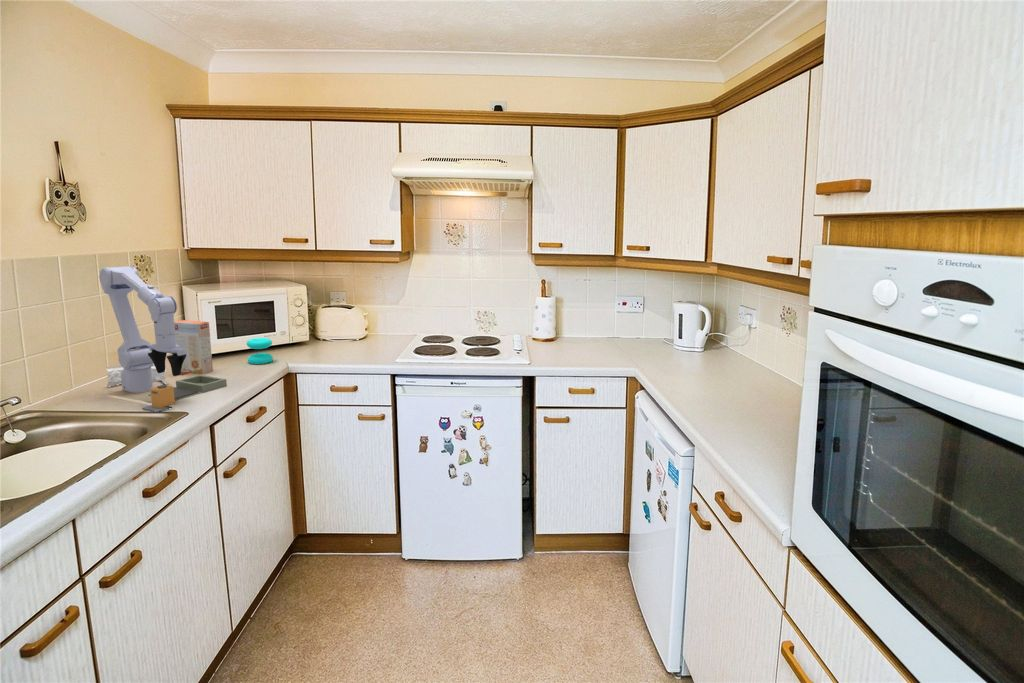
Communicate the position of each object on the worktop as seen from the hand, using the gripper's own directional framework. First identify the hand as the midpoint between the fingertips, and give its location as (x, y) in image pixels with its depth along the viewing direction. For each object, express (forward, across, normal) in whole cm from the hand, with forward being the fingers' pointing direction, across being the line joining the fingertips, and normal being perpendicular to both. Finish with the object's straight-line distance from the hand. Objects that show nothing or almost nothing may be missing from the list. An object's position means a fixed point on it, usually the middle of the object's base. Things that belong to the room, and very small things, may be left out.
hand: (168, 374), depth 191 cm
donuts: (+10, +17, -54) cm, 57 cm away
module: (+9, -4, +6) cm, 11 cm away
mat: (+9, -4, +6) cm, 12 cm away
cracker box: (+10, +25, -27) cm, 38 cm away
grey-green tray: (+9, +3, -9) cm, 13 cm away
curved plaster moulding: (+10, +26, -6) cm, 28 cm away
